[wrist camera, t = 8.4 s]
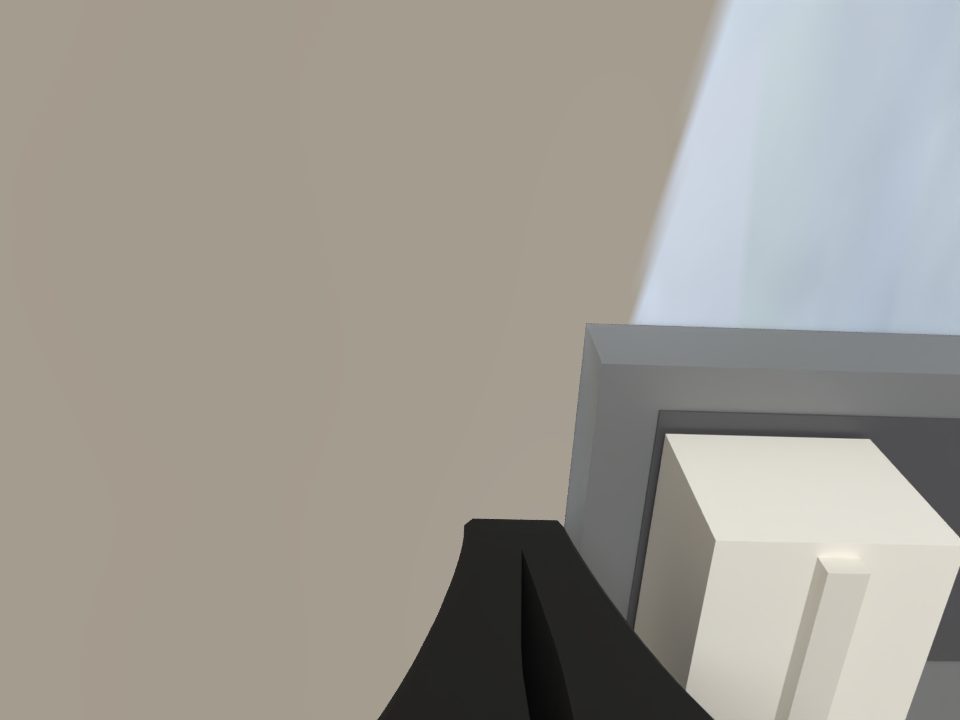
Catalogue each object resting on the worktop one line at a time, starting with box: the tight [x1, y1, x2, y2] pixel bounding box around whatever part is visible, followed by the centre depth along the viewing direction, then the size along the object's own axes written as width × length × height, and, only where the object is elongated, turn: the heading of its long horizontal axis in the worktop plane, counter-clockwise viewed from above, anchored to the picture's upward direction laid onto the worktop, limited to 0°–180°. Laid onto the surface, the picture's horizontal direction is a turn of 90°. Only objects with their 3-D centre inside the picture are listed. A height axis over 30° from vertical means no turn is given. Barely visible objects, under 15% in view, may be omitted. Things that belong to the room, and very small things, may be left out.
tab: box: [634, 434, 960, 720], centre depth 12 cm, size 4×3×3 cm
